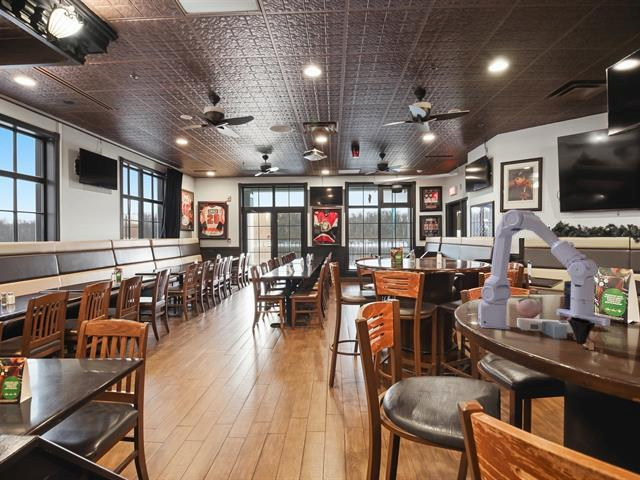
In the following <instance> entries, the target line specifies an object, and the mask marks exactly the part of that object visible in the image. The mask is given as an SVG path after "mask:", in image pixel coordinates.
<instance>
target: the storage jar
mask: <svg viewBox="0 0 640 480" xmlns="http://www.w3.org/2000/svg"><path fill="white" fill-rule="evenodd" d="M563 284H564V285H563V296H564V301H563V302H564V304H563V309H565V310H570V305H571V280H566V281H564V282H563ZM568 318H569V317H566V316H563V320H565V321H566V320H567V319H568Z"/></svg>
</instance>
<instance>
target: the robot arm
mask: <svg viewBox="0 0 640 480" xmlns="http://www.w3.org/2000/svg"><path fill="white" fill-rule="evenodd" d="M501 215H502V217H501V220H500V221H499V223H498V225H497V226H496V229H495V236H494V245H493V252H492V258H491V259H492V261H491V268H490V275H489V276H488V278H486V280H485V281H484V285H483V287H482V288H481V290H480V295H481V298H482V299H483V300H484V301H479V302H478V307H477V308H478V309H477V311H478V313H477V319H478V320H477V323H478V325H479V326H480V327H481V328H482V329H483V328H487V329H500V330H510V329H511V327H509V326H508V324H507V319H508V318H507V315H508V314H507V313H508V312H507V310H508V304H507V303H508V300H510V298H511V296H512V290H511V287H510V285H511V282H510V280H509V279H508V271H509V266H510V265H509V264H510V256H511V248H512V240H513V236H514V235H516V234H517V233H519V232H520V231H524V230H527V231H530V232H531V231H532V232H533V233H534V234H535V235H536V236H537V237H539V239H541V240H542V241H543V242H545V244H547V245H548V246H549V247H550V252H551V254H552V255H553V256H554V257H555V258H556V259H557V260H558V261H559V262H560V263H561V264H562V265H563V266H564V267H565V268H566V272H567V274H568V275H569V277H570V281H571V305H570V310H565V309H564V308H557V309H556V316H562V317H564V316H566V317H570V318H571V320H568V323H569V324H570V326H571V327H572V329H573V332H574V334H575V337H576V340H575V341H576V344H577V345H581V346H583V345H582V344H585V343H586V340H587V339H588V337H589V335H590V333H591V330H593V328H594V327H595V325H596V324H597V325H601V326H602V327H603V326H604V327H610V326H611V318H607V317H603V316H601V315H597V314H594V313H595V311H594V310H595V277H596V276H597V275H598V273H599V266H598V264H597V263H596V262H595V260H593V259H591V258H587V255H585V254H582V253H581V252H580V251H579V250H578V249H576V247H575V244H574V243H573V242H569V241H568V240H561V239H560V238H559V237H558V236H557V235H556V234H555V233H554V232H553V231H552V230H551V229H550V227H548V226H547V225H546V224H545V223H544V221H542V219H541V217H540V216H539V215H537V214H535V212H533V211H532V210H520V209H510V210H508V211H506V212H505V213H503V214H501Z"/></svg>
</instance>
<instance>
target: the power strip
mask: <svg viewBox="0 0 640 480" xmlns="http://www.w3.org/2000/svg"><path fill="white" fill-rule="evenodd" d="M542 321H555V322H559V323H560V324H562V325H564V326H567V334H573V329H572V327H571V326H570V324H569V323H568V322H567V321H566V320H557V319H546V318H545V319H542V318H533V319H528V318H524V317H517V318H516V327H518V329H520V330H521V331H529V330H530V332H531V331H533V332H542Z"/></svg>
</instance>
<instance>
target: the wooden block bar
mask: <svg viewBox="0 0 640 480" xmlns="http://www.w3.org/2000/svg"><path fill="white" fill-rule="evenodd" d="M572 336H573V338H572V339H573V340H574V341H576V337H575V334H574V332H573V333H572ZM581 346H583V347H585V348H586V349H588V350H590V351H594V349H595V344H594V342H592V341H591V340H590V339H588V338H587V340H586V343H585V344H582V345H581Z"/></svg>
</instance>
